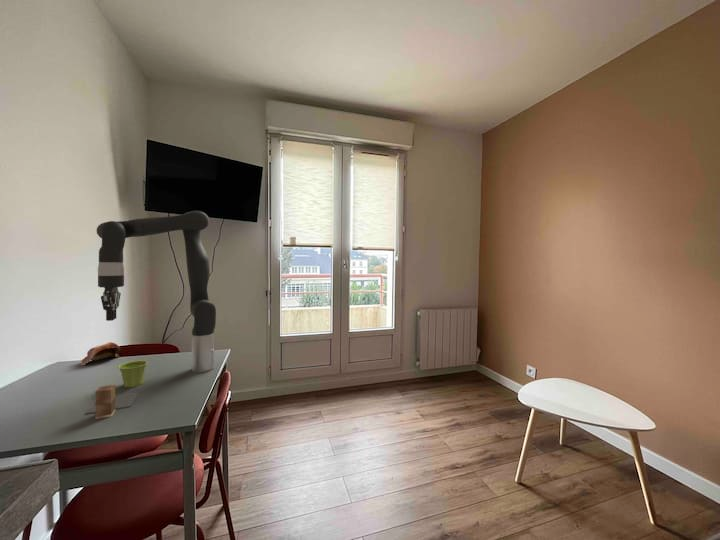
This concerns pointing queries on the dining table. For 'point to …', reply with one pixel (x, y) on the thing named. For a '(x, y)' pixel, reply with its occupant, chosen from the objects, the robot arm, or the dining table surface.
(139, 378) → the plant pot
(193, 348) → the robot arm
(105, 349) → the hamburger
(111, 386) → the tan wooden block
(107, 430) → the dining table surface
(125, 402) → the mat
